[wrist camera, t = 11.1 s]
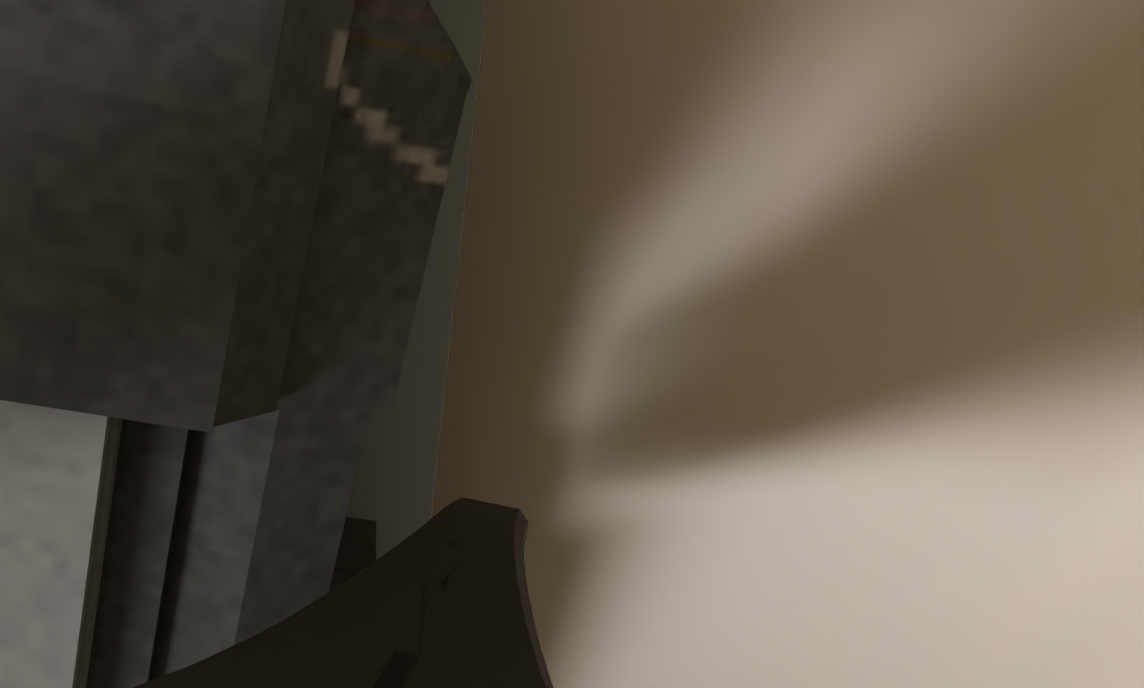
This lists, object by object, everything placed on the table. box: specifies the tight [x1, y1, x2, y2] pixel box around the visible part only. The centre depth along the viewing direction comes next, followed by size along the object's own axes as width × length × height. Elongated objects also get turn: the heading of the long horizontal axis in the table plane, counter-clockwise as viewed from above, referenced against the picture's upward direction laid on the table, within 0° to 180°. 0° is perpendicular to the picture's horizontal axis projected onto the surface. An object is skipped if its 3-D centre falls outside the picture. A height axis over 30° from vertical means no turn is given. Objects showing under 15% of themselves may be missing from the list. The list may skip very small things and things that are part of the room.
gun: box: [0, 0, 472, 688], centre depth 12 cm, size 4×20×10 cm
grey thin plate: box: [346, 0, 487, 560], centre depth 13 cm, size 25×10×1 cm, turn 172°
